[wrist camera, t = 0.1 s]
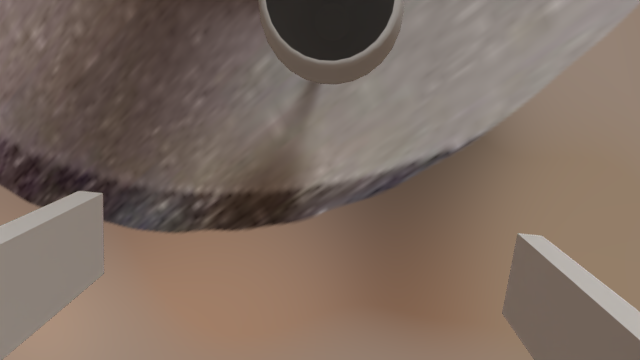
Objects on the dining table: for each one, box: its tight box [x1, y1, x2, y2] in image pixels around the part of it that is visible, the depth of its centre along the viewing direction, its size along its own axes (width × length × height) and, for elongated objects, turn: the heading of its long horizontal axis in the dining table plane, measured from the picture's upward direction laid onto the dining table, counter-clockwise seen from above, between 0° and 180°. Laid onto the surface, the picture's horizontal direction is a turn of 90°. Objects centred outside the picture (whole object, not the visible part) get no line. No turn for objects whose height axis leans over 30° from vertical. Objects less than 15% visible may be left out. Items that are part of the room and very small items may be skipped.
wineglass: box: [258, 0, 404, 84], centre depth 30 cm, size 8×8×21 cm
